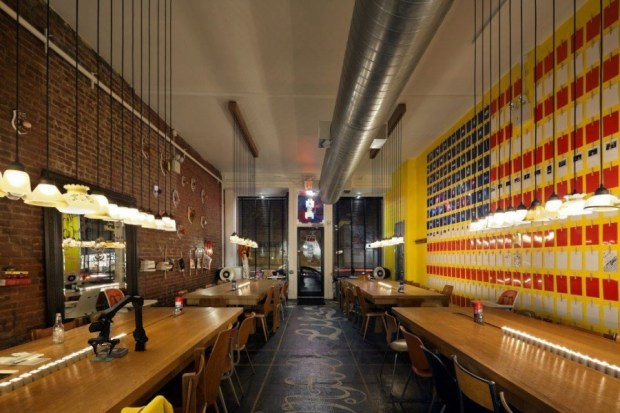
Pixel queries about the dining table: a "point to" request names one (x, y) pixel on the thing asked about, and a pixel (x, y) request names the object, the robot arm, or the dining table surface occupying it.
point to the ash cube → (102, 356)
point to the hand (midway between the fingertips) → (102, 354)
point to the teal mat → (102, 360)
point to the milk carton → (109, 335)
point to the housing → (114, 352)
